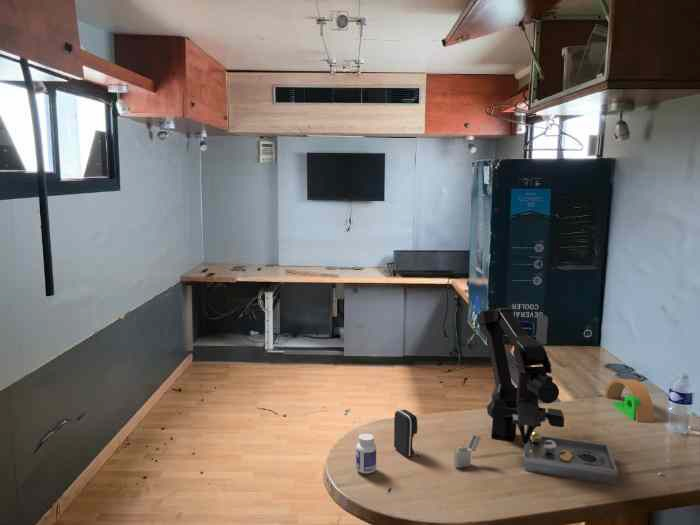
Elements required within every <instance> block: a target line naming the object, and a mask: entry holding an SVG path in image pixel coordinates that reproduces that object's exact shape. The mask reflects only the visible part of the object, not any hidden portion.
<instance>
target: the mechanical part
mask: <svg viewBox="0 0 700 525" xmlns="http://www.w3.org/2000/svg"><path fill="white" fill-rule="evenodd" d="M612 406H614V407H615V408H616V409H617V410H619V411H620V412H621V413H623V414H625V416H627V417H628V418H630V419H631V420H632V421H636V406H641V405H640V400H639V398H638V397H633V395H631V394H627V395H626V396H625V397H624V401H613V402H612Z"/></svg>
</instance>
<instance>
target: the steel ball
mask: <svg viewBox="0 0 700 525" xmlns="http://www.w3.org/2000/svg"><path fill="white" fill-rule="evenodd" d="M544 449H545V451H546V452H548V453H554V452H555V451H556V449H557V445H556V443H555V442H554V441H552V440H547V441H545V443H544Z"/></svg>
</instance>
